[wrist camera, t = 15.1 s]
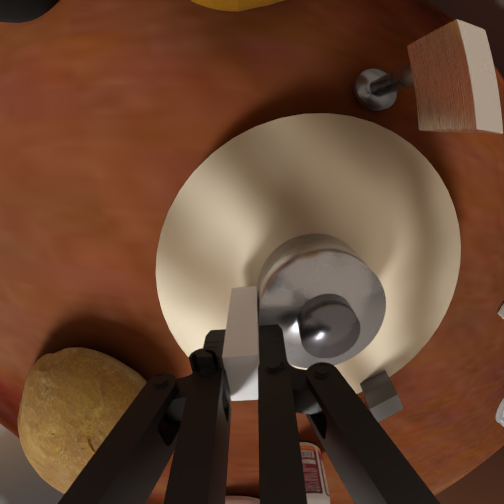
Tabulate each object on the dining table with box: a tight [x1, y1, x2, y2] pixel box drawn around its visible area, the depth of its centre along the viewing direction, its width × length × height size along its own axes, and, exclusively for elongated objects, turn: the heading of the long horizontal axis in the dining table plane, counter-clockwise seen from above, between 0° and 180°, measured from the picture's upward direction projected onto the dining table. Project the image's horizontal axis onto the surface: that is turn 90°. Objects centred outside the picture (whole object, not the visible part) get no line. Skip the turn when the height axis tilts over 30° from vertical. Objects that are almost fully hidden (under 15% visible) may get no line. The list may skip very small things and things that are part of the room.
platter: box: [156, 113, 461, 422], centre depth 18 cm, size 22×23×4 cm
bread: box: [18, 347, 147, 494], centre depth 25 cm, size 18×35×10 cm, turn 151°
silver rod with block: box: [352, 19, 503, 134], centre depth 12 cm, size 3×5×12 cm, turn 6°
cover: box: [258, 233, 386, 368], centre depth 16 cm, size 7×7×6 cm
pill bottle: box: [300, 442, 330, 504], centre depth 25 cm, size 6×6×11 cm
